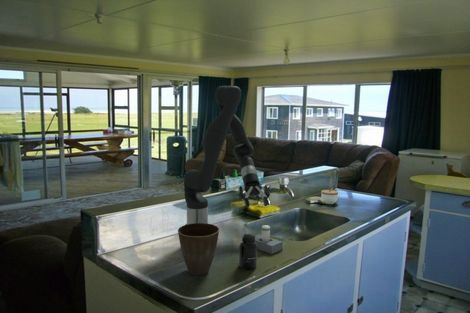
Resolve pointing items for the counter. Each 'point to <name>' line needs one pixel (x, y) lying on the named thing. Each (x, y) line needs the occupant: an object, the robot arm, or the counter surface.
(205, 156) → the robot arm
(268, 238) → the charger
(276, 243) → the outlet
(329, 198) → the lidded jar
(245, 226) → the counter surface
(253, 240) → the supplement bottle
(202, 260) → the plant pot
